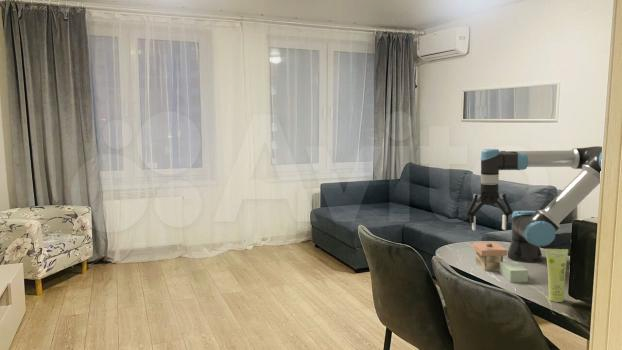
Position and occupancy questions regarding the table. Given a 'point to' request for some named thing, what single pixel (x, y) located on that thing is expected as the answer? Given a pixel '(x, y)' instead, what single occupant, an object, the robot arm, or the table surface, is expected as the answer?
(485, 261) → the box
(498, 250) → the lid
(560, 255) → the tube
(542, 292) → the table surface
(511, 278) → the pale green rectangular block
